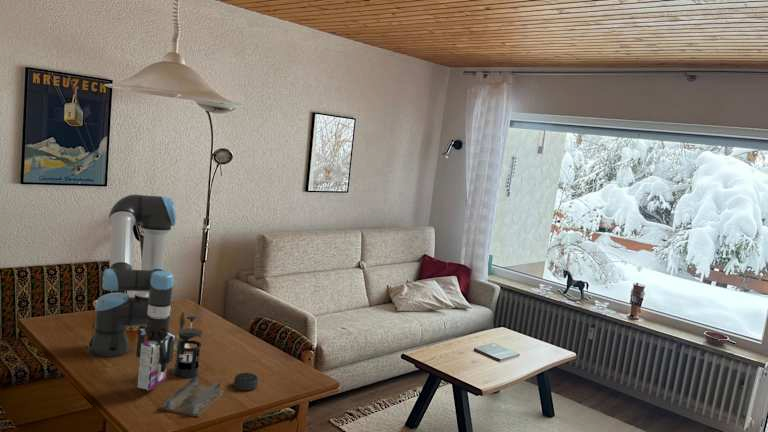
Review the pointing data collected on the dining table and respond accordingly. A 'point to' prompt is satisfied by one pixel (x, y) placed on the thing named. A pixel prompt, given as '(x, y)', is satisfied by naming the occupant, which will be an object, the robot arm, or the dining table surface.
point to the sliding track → (193, 398)
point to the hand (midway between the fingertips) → (152, 378)
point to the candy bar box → (150, 364)
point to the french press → (188, 359)
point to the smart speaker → (246, 381)
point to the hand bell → (182, 323)
